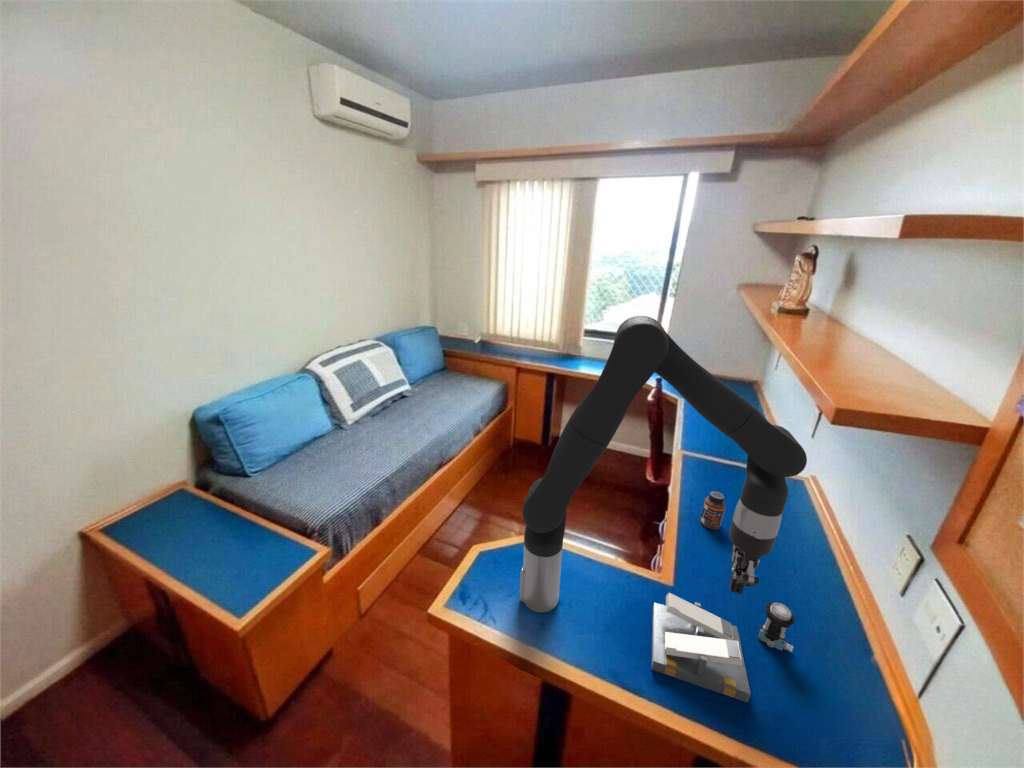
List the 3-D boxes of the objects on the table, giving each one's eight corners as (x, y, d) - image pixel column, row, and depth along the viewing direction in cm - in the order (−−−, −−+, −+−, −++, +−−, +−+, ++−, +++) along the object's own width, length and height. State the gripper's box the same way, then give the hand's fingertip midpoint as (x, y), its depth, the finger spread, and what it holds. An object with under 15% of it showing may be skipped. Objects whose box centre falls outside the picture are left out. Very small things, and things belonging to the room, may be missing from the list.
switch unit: (651, 670, 81) (656, 647, 79) (652, 610, 94) (656, 589, 92) (747, 703, 75) (756, 680, 73) (734, 634, 89) (741, 613, 86)
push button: (792, 643, 87) (804, 611, 84) (790, 662, 83) (803, 629, 80) (758, 626, 91) (768, 594, 87) (755, 643, 87) (765, 611, 83)
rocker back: (666, 611, 86) (669, 606, 86) (665, 596, 90) (669, 591, 89) (729, 643, 83) (733, 638, 83) (726, 627, 87) (730, 622, 86)
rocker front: (666, 654, 81) (665, 647, 80) (665, 637, 84) (664, 631, 84) (742, 665, 75) (741, 658, 75) (738, 647, 79) (737, 640, 78)
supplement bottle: (701, 528, 122) (708, 498, 119) (698, 516, 128) (704, 487, 124) (721, 532, 121) (729, 502, 117) (718, 520, 126) (725, 491, 122)
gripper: (728, 499, 82) (711, 562, 88) (739, 541, 70) (719, 610, 76) (768, 508, 80) (748, 572, 86) (787, 552, 68) (762, 623, 74)
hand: (735, 590), depth 81 cm, fingers closed
